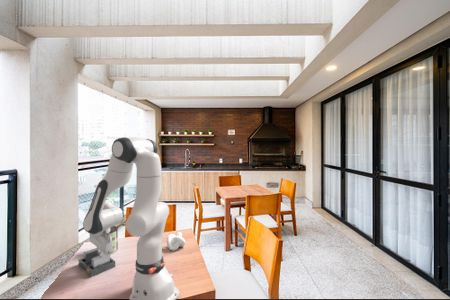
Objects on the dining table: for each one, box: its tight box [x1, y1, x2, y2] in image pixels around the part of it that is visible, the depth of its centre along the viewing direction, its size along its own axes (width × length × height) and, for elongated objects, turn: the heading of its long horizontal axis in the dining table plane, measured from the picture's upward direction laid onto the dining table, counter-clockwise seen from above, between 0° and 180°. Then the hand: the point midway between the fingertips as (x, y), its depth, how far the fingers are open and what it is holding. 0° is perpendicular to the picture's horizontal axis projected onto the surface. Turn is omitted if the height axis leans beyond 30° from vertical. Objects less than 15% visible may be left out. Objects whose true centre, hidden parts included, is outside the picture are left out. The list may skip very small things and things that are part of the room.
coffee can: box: [104, 225, 119, 255], centre depth 132 cm, size 10×10×14 cm
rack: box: [78, 247, 116, 278], centre depth 115 cm, size 18×12×7 cm
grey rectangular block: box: [92, 253, 111, 270], centre depth 112 cm, size 3×8×6 cm, turn 142°
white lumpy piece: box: [166, 231, 186, 251], centre depth 138 cm, size 11×12×9 cm
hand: (100, 254), depth 112 cm, fingers closed
